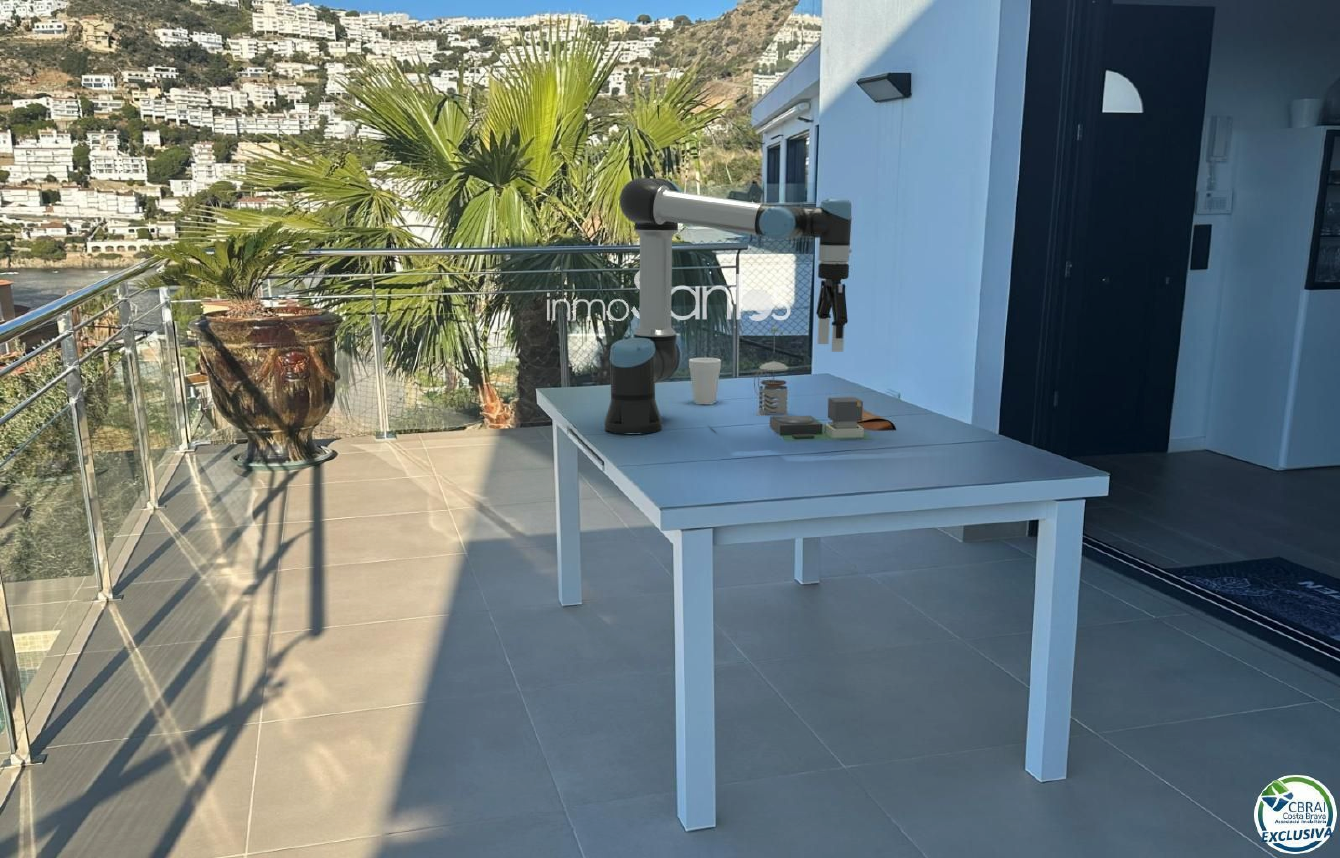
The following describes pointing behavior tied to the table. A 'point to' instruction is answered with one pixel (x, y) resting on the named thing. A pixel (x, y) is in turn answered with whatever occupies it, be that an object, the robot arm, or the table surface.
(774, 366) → the french press
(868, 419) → the sunglasses case
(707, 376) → the foam cup
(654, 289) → the robot arm
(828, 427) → the frame
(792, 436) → the board
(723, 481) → the table surface
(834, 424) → the plug
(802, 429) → the fan
